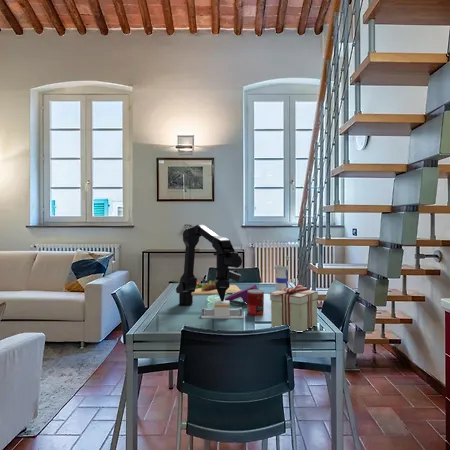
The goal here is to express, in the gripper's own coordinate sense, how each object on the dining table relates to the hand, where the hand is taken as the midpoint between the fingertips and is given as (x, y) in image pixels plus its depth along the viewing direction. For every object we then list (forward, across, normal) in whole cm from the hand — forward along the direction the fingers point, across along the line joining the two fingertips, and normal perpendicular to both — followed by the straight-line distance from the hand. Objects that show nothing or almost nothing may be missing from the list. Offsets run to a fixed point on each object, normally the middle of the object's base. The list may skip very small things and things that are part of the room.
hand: (222, 299), depth 181 cm
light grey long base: (+8, 0, 0) cm, 8 cm away
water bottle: (+8, +33, -33) cm, 47 cm away
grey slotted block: (+7, 0, 0) cm, 7 cm away
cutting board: (+9, +60, +6) cm, 61 cm away
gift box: (+8, -17, -29) cm, 34 cm away
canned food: (+8, +4, -16) cm, 18 cm away
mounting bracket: (+8, +28, -10) cm, 31 cm away
